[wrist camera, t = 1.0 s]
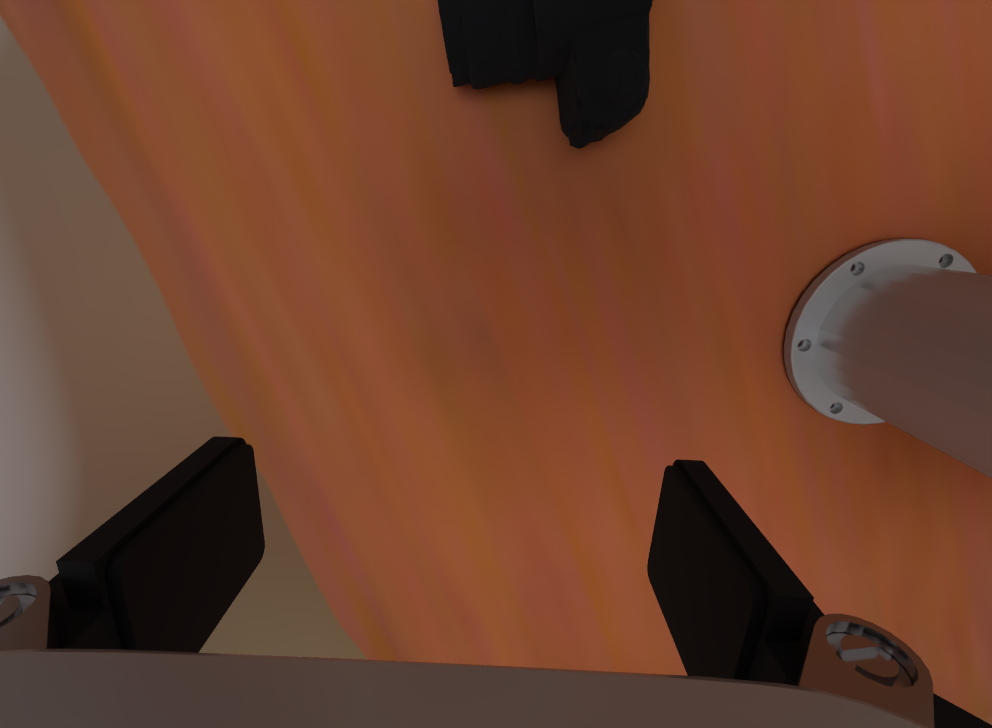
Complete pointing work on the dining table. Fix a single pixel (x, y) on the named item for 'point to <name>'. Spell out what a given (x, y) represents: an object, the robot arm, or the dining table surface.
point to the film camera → (556, 54)
